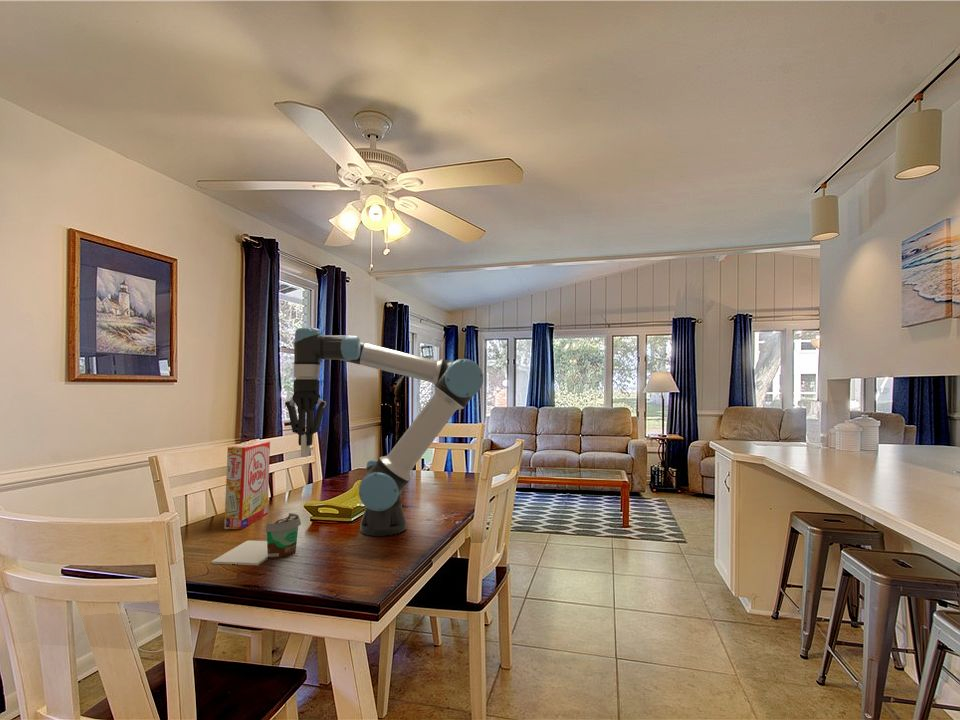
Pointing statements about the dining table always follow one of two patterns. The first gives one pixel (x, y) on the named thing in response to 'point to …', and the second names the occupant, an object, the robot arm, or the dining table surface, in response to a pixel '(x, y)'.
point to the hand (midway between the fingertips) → (305, 456)
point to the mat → (245, 554)
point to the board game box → (246, 484)
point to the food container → (282, 537)
